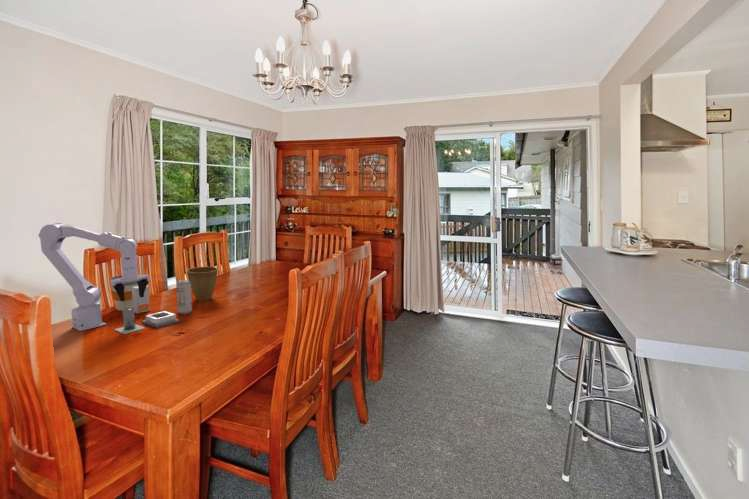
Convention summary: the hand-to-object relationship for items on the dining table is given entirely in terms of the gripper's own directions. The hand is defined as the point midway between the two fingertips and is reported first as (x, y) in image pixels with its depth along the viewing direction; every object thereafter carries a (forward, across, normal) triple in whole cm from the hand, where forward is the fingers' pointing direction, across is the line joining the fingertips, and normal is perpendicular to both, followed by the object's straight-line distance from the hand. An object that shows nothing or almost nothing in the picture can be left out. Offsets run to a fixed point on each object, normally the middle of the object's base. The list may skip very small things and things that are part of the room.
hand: (132, 298), depth 164 cm
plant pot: (+11, +40, +10) cm, 43 cm away
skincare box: (+11, +10, +13) cm, 20 cm away
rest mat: (+10, -5, -8) cm, 14 cm away
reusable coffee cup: (+11, +9, +24) cm, 28 cm away
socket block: (+10, +7, -9) cm, 15 cm away
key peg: (+10, -5, -8) cm, 14 cm away
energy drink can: (+11, +21, -4) cm, 24 cm away
